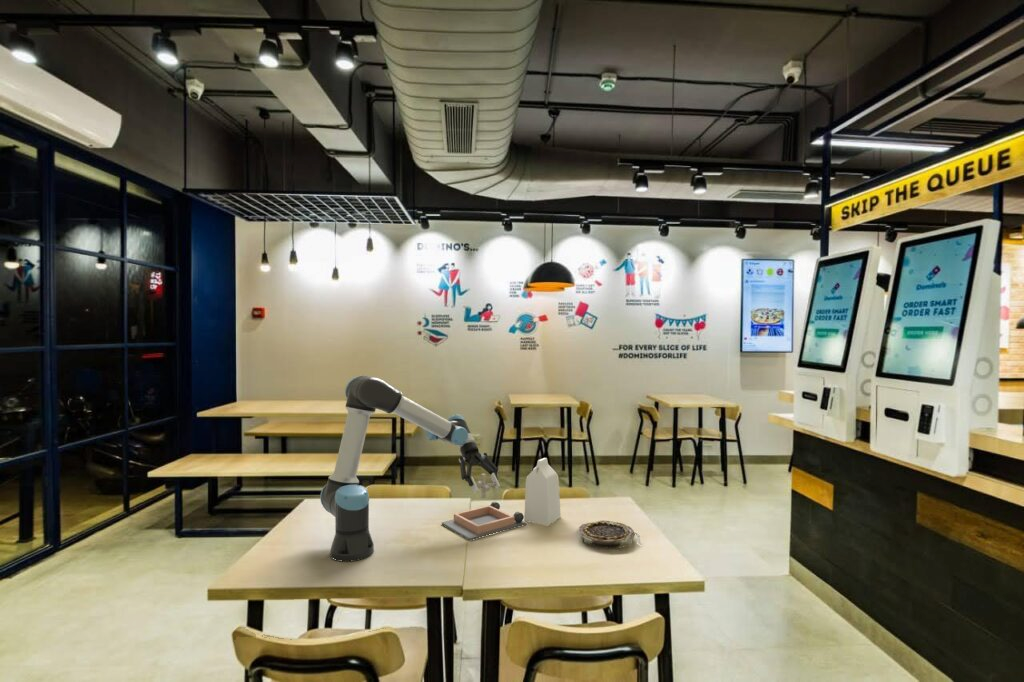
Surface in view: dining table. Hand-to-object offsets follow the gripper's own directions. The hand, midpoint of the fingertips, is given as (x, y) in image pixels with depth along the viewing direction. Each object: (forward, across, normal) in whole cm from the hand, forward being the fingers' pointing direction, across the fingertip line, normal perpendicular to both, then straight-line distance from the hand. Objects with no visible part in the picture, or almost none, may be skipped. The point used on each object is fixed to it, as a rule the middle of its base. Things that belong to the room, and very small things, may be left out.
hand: (487, 489), depth 210 cm
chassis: (+9, 0, -13) cm, 16 cm away
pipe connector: (+1, 0, -5) cm, 5 cm away
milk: (+16, -24, -6) cm, 30 cm away
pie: (+39, -29, +16) cm, 51 cm away
